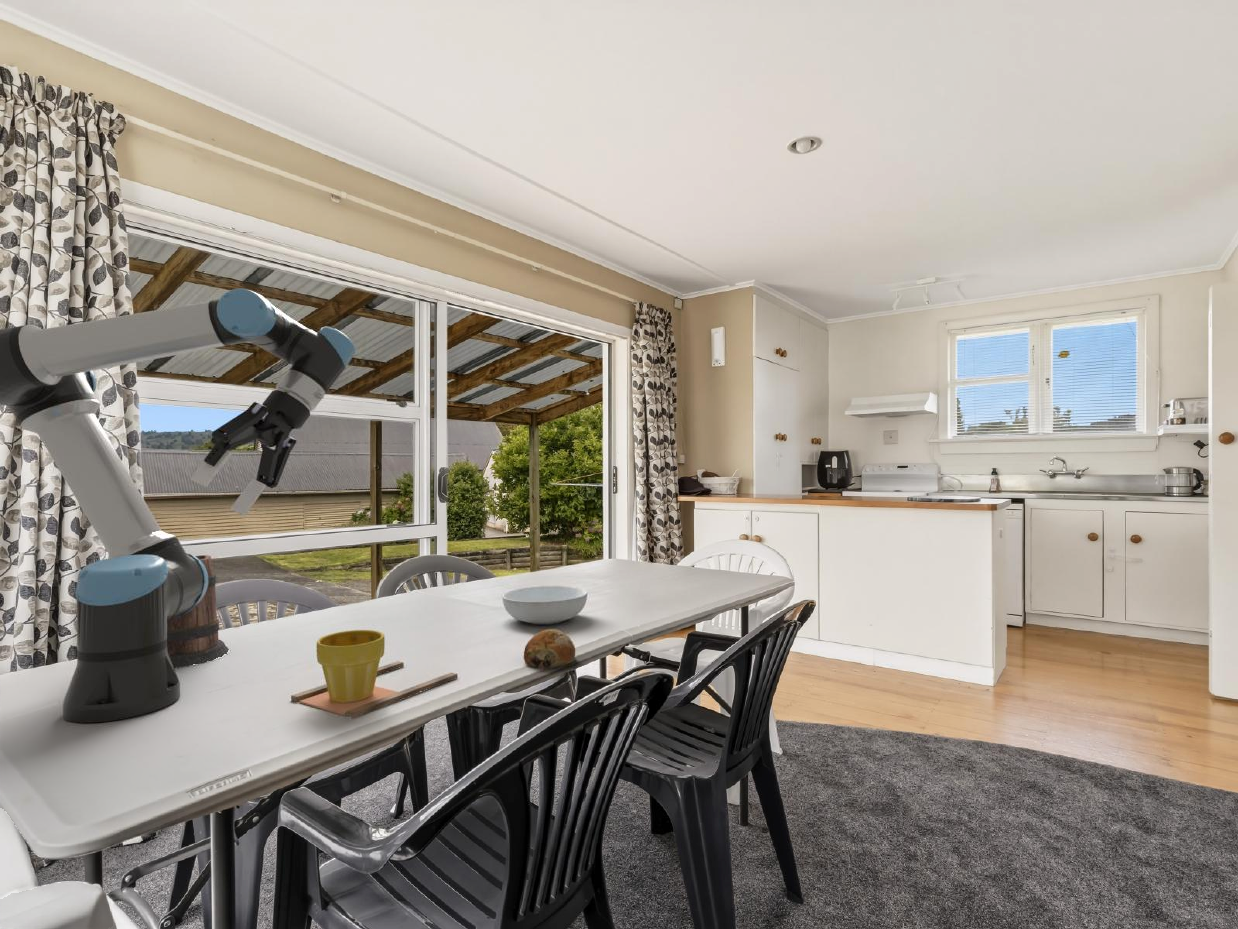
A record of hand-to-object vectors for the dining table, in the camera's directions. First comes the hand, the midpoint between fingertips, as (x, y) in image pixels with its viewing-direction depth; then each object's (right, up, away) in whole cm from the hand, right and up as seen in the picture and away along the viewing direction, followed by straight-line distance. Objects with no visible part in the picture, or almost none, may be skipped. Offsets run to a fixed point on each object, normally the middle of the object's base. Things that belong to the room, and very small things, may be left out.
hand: (218, 498), depth 114 cm
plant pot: (+24, -33, -4) cm, 41 cm away
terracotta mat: (+24, -33, -4) cm, 41 cm away
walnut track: (+27, -33, +1) cm, 42 cm away
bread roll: (+55, -33, +16) cm, 66 cm away
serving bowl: (+50, -33, +51) cm, 79 cm away
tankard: (-22, -33, +23) cm, 47 cm away
